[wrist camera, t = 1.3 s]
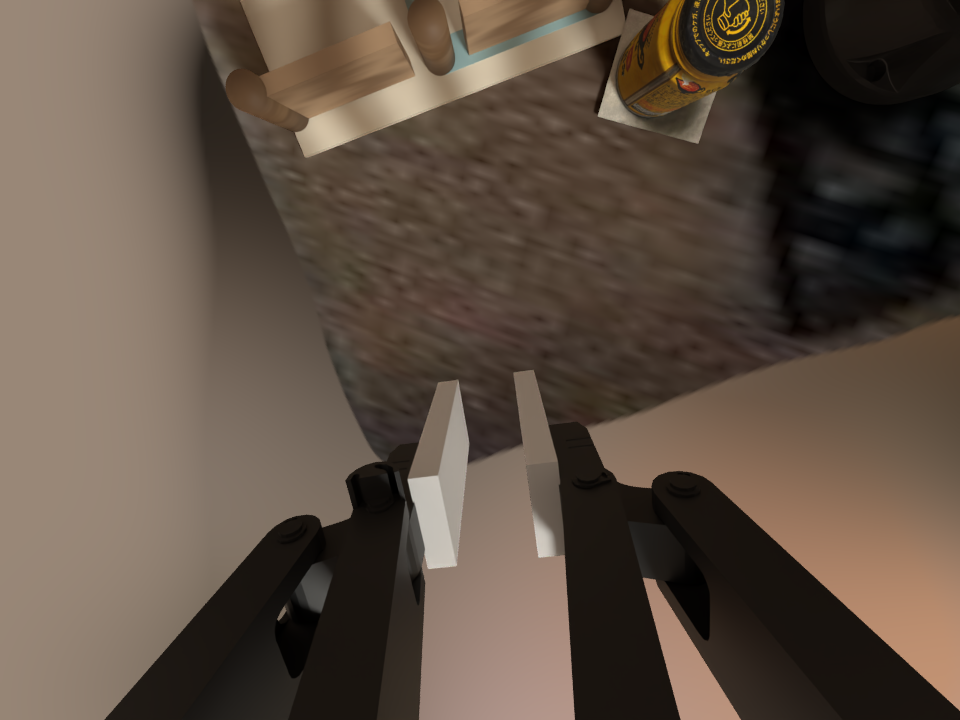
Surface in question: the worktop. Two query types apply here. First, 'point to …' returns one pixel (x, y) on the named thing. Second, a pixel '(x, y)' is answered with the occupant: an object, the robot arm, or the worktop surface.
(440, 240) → the worktop surface
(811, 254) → the worktop surface
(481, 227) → the worktop surface
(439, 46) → the fence fixed
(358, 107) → the board
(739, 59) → the condiment
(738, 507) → the robot arm
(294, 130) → the fence panel
